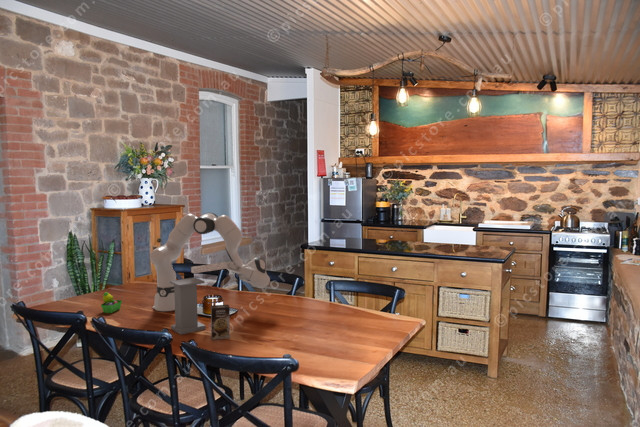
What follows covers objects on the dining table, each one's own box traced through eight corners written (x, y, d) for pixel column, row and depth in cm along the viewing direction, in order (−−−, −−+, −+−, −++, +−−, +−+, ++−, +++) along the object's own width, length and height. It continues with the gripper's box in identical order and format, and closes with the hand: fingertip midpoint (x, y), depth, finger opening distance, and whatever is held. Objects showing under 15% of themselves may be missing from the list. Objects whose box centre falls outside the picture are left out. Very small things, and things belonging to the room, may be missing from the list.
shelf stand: (195, 323, 275) (194, 277, 273) (205, 329, 266) (204, 281, 264) (171, 328, 266) (169, 281, 264) (180, 334, 257) (179, 285, 255)
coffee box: (211, 340, 249) (211, 308, 247) (211, 336, 255) (210, 305, 254) (230, 338, 251) (229, 307, 250) (229, 334, 257) (228, 303, 256)
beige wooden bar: (231, 266, 282) (231, 261, 281) (233, 267, 279) (233, 262, 279) (191, 272, 266) (191, 266, 266) (193, 273, 264) (193, 267, 264)
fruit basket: (111, 313, 294) (111, 295, 293) (98, 313, 296) (97, 294, 295) (123, 308, 305) (122, 290, 304) (110, 307, 307) (109, 289, 306)
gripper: (239, 265, 295) (220, 256, 287) (257, 271, 279) (238, 261, 271) (234, 275, 294) (216, 266, 286) (253, 281, 278) (233, 272, 270)
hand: (227, 264), depth 278 cm, fingers closed on beige wooden bar, 3 cm apart
